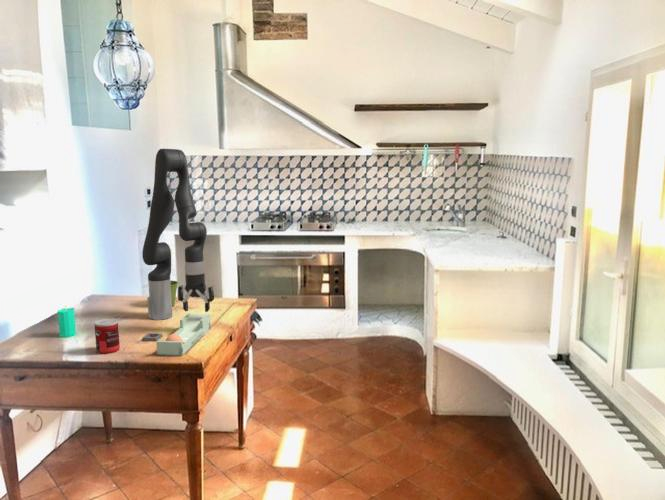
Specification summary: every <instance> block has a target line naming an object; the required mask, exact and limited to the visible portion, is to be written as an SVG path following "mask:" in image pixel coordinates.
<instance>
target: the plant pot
mask: <svg viewBox="0 0 665 500" xmlns="http://www.w3.org/2000/svg"><path fill="white" fill-rule="evenodd" d="M170 284H171V301H172V307H173V306H175V304H176V296H177V291H178V287H179V286H178V285H179V284H180V283H179V281H177V280H171V279H170Z"/></svg>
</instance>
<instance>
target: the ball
mask: <svg viewBox="0 0 665 500" xmlns="http://www.w3.org/2000/svg"><path fill="white" fill-rule="evenodd" d="M165 340H166V341H182V338H181V337H180V336H179V335H177V334H173V333H172V334H169V335H168V336H167V337H166V339H165Z"/></svg>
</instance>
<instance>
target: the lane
mask: <svg viewBox="0 0 665 500" xmlns="http://www.w3.org/2000/svg"><path fill="white" fill-rule="evenodd" d="M179 324H180V325H179V328H178V329H177V330H176V331H175V332H174V333H172V334H177V335H179V336H180V337H181V338H182V341H166V339H165V340H157V341H155V342H156V343H155V344H156V356H167V357H168V356H169V357H171V356H172V357H173V356H174V357H183V356H184V355H185V354H186V353H187V352H188V351H189V350H190V349H191V348H192V347H193V346H194V345H195V344H196V343H197V342H198V341H200V339H201V338H202V337H204V336H205V335H206V334H207V333H208V332H210V330H211V314H209V313H207V314H206V313H187V314H186V315H184V316H183V317H181V318H180V319H179Z"/></svg>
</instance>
